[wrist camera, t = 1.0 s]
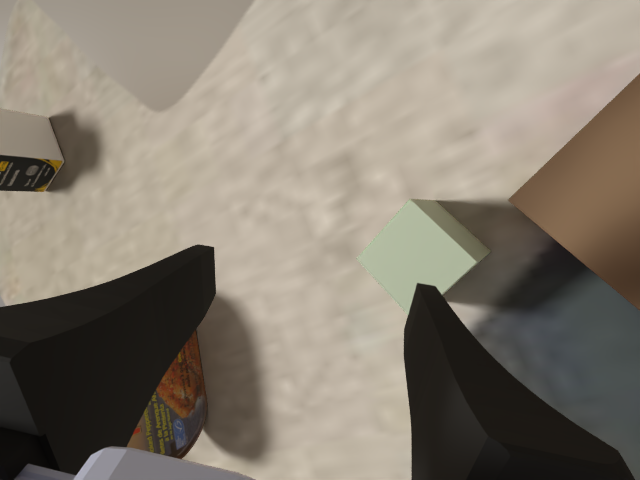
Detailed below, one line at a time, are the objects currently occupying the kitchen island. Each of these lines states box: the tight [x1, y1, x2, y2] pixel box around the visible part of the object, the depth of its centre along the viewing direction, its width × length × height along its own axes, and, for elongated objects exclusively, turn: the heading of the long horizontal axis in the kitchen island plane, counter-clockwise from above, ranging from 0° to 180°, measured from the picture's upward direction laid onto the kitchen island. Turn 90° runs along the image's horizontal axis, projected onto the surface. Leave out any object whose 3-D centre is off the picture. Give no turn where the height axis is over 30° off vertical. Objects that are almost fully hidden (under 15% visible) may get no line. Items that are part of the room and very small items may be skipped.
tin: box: [127, 330, 207, 459], centre depth 33 cm, size 15×3×8 cm, turn 10°
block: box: [356, 199, 491, 315], centre depth 21 cm, size 4×4×5 cm
